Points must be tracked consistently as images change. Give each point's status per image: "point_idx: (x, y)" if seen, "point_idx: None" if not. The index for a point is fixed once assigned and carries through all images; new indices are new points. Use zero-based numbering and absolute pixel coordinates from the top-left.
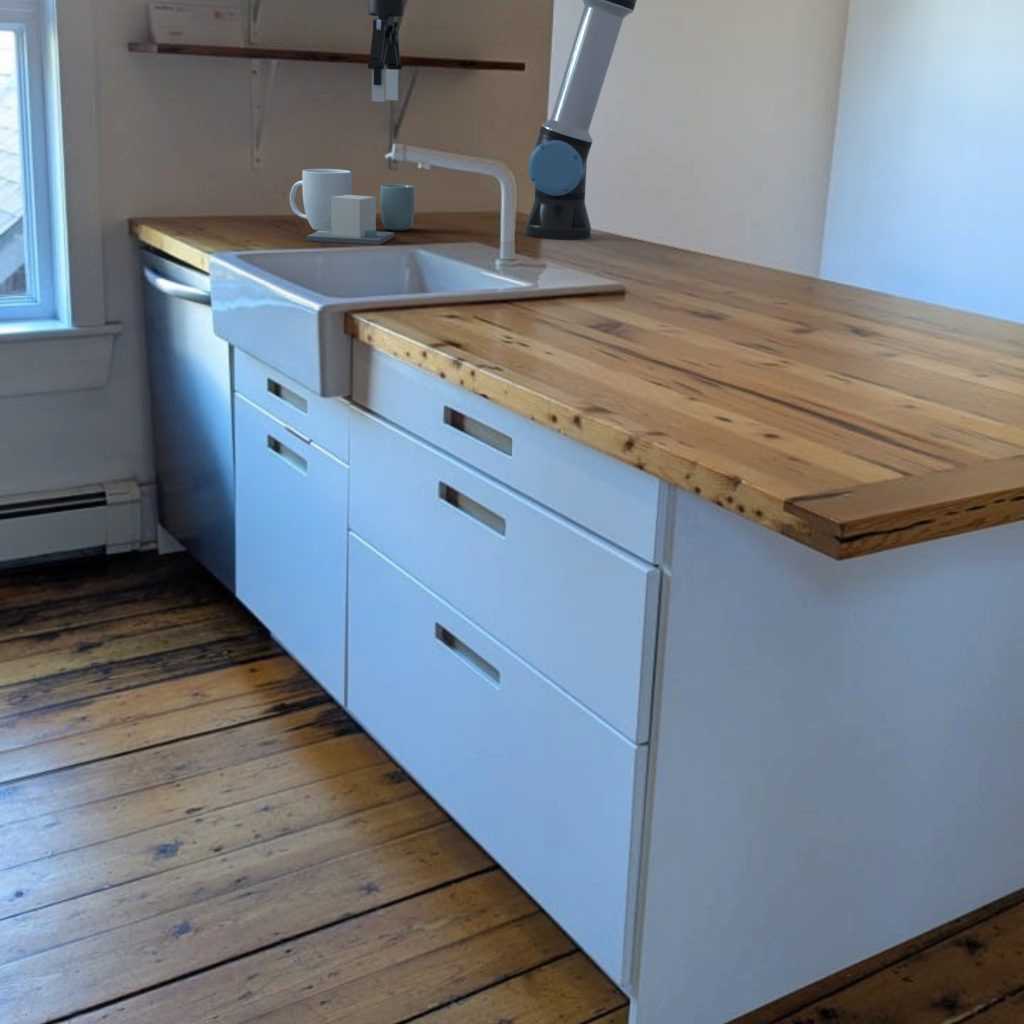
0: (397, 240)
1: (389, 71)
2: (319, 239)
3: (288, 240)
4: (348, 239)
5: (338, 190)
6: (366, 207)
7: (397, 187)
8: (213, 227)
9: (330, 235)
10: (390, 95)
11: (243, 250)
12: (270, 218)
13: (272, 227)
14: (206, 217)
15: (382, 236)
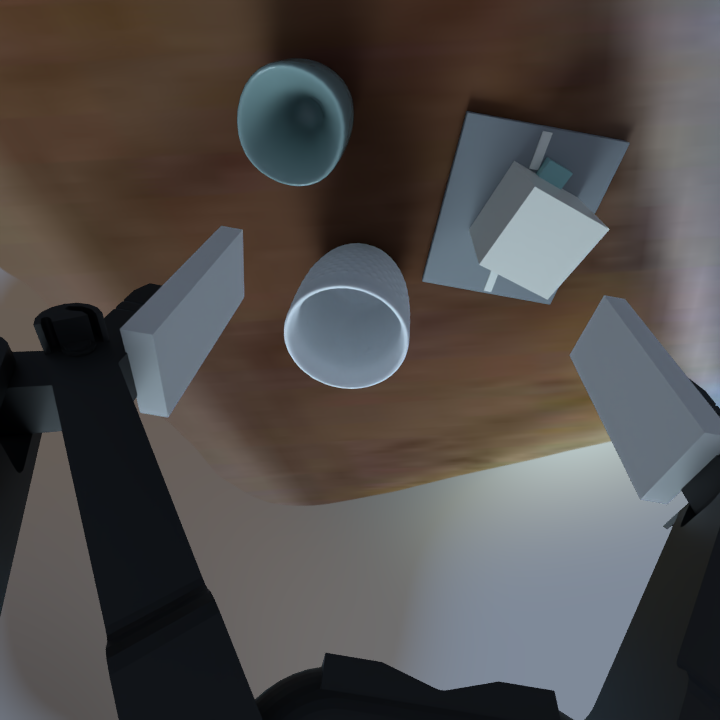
0: (535, 96)
1: (172, 383)
2: None
3: (539, 329)
4: None
5: (401, 291)
6: (571, 203)
7: (343, 127)
8: (381, 433)
9: None
10: (235, 283)
11: None
12: (228, 373)
13: None
14: (262, 447)
15: (556, 140)
